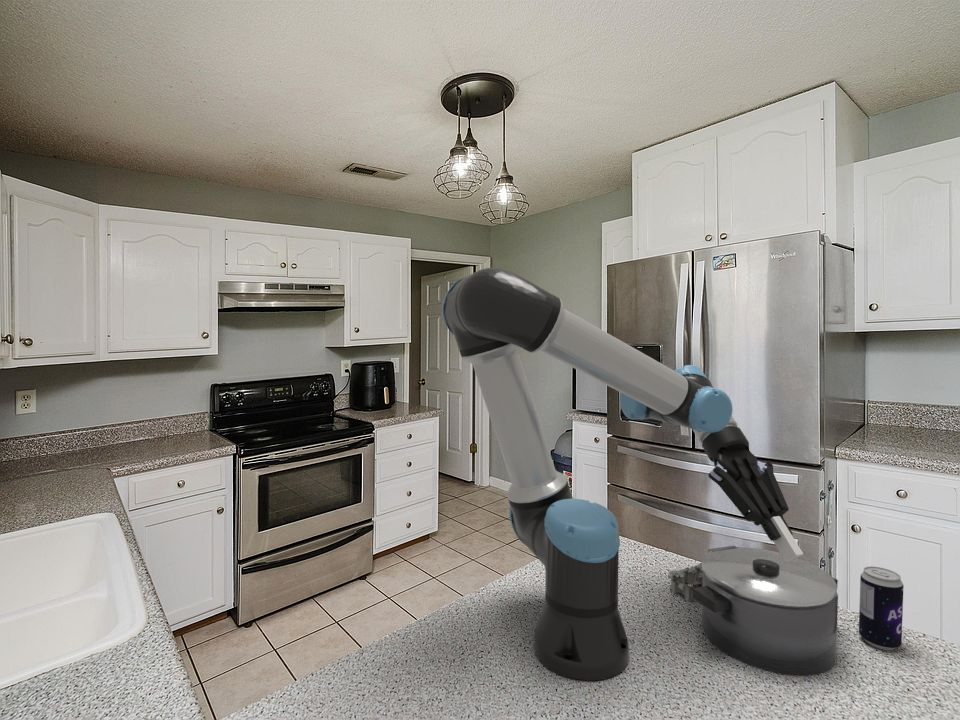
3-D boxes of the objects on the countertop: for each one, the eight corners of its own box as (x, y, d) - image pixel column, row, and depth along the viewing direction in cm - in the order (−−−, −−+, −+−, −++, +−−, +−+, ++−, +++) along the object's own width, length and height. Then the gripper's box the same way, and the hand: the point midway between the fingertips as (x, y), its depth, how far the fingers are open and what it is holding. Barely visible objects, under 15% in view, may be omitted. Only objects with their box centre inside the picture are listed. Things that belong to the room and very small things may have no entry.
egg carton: (691, 605, 99) (692, 585, 99) (663, 588, 106) (663, 568, 106) (731, 594, 104) (732, 574, 103) (702, 578, 110) (702, 559, 110)
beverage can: (890, 656, 83) (893, 583, 82) (851, 638, 88) (853, 569, 87) (908, 647, 85) (910, 576, 85) (869, 629, 90) (871, 562, 90)
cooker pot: (751, 691, 75) (752, 623, 74) (663, 619, 94) (664, 565, 93) (880, 657, 83) (882, 596, 82) (775, 597, 102) (776, 547, 101)
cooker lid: (768, 617, 75) (768, 601, 75) (676, 560, 95) (676, 547, 95) (867, 597, 81) (868, 582, 81) (762, 547, 101) (762, 535, 101)
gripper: (736, 444, 102) (810, 562, 87) (681, 448, 98) (748, 572, 83) (758, 422, 97) (841, 543, 82) (701, 425, 93) (777, 553, 78)
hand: (794, 557), depth 83 cm, fingers closed
